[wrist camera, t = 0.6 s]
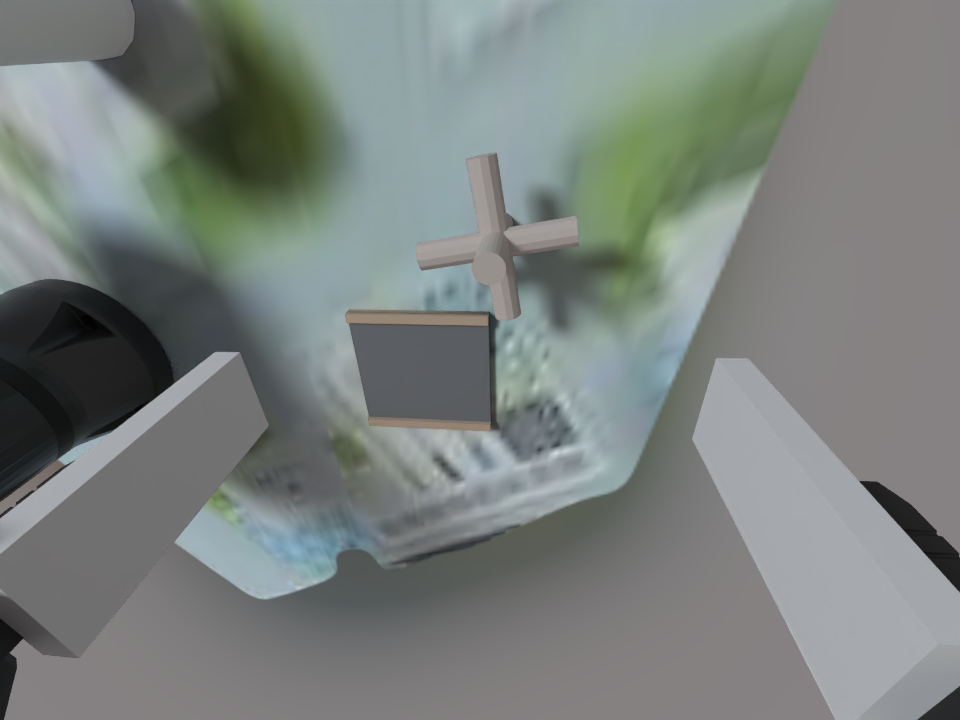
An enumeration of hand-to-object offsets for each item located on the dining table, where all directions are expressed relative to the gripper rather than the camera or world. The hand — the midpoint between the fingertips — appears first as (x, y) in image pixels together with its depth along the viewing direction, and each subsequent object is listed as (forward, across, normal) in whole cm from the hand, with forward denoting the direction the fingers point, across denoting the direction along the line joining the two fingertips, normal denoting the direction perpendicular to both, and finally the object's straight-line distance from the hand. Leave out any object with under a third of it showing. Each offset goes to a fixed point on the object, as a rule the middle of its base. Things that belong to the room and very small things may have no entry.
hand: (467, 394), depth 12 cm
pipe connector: (+22, 0, 0) cm, 22 cm away
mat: (+21, -7, -13) cm, 26 cm away
